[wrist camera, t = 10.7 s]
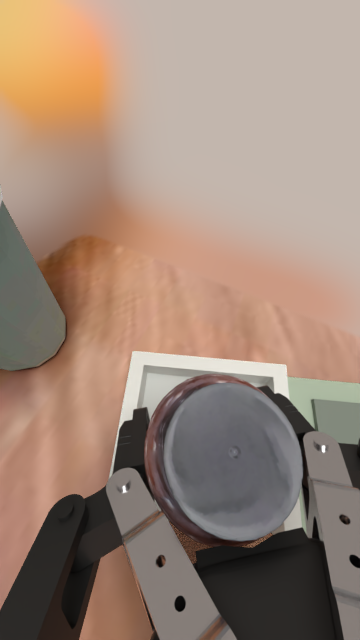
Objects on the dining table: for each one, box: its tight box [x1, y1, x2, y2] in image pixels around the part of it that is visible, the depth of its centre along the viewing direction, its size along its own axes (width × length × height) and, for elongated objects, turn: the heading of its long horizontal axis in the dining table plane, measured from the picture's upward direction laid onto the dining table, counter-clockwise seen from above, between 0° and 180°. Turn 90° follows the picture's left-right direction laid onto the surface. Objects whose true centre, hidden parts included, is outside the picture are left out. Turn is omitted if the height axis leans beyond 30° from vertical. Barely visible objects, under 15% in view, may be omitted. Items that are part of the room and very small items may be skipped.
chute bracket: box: [109, 351, 302, 535], centre depth 17 cm, size 12×10×3 cm
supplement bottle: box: [144, 374, 303, 547], centre depth 12 cm, size 6×6×11 cm
